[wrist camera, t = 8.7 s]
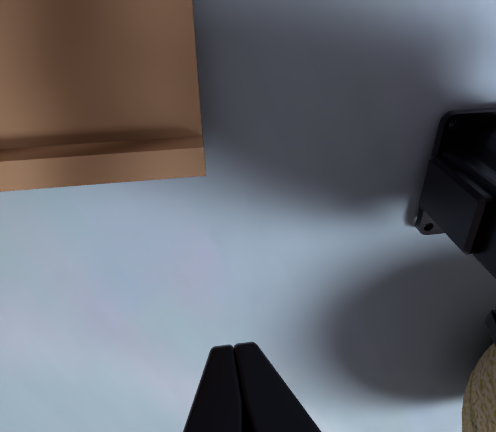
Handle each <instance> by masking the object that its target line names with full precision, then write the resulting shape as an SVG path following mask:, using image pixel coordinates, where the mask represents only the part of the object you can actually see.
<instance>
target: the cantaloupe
mask: <svg viewBox="0 0 496 432" xmlns="http://www.w3.org/2000/svg"><path fill="white" fill-rule="evenodd" d="M462 432H496V347H495V345H494V343H493V344H492V345H491V346H490V347H489V348H488V349H487V350H486V351H485V352H484V354H483V355H482V357H481V358H480V360H479V361H478V362H477V364H476V366H475V368H474V370H473V371H472V372H471V375H470V379H469V381H468V383H467V386H466V388H465V394H464V398H463V407H462Z"/></svg>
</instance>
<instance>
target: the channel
mask: <svg viewBox="0 0 496 432" xmlns="http://www.w3.org/2000/svg"><path fill="white" fill-rule="evenodd" d="M194 176H206V167H205V154H204V144H203V137H202V125H201V112H200V98H199V85H198V72H197V58H196V45H195V31H194V18H193V5H192V0H0V192H2V191H15V190H28V189H40V188H53V187H66V186H79V185H92V184H105V183H117V182H130V181H143V180H156V179H169V178H182V177H194Z"/></svg>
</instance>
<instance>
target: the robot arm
mask: <svg viewBox="0 0 496 432" xmlns="http://www.w3.org/2000/svg"><path fill="white" fill-rule="evenodd" d="M453 120H455V123H454V124H453V125H452V126H451V127H449V125H450V123H451V122H452V121H453ZM419 205H420V208H419V213H418V217H417V221H416V228H417V229H418V231H419V232H420V233H421V234H423V235H431V234H441V233H446V234H447V235H448V237H449V238H450V239H451V240H452V241H453V242H454V243H455V244H456V245H457V246H458V247H459V248H460V249H461V250H462V251H463V252H464V253H465V254H466V255H468V254H472V255H473V256H474V257H475V258H476V259H477V260H478V261H479V262H480V263H481V264H482V265H483V266H484V267H485V268H486V269H487V270H488V271H489V272H490V273H491V274H492V275H493V276H494V277H495V278H496V108H491V109H475V110H460V111H451V112H448V113H446V114H445V115H444V116H443V117H442V118H441V120H440V123H439V127H438V132H437V136H436V140H435V144H434V149H433V153H432V157H431V159H430V160H429V163H428V167H427V171H426V176H425V180H424V184H423V189H422V193H421V197H420V202H419ZM428 223H429V224H428ZM426 224H428V225H427V226H425V225H426ZM424 226H425V227H424ZM485 322H486V325H487V327H488V330H489V332H490V335H491V337H492V340H493V342H494V345H495V347H496V309H495V310H492V311H491V312H490V313H489V315H488V316H487V318H486V320H485ZM183 432H321V431H320V429H319V428H318V427H317V425H316V424H315V422H314V421H313V420H312V418H311V417H310V416H309V414H308V413H307V412H306V410H305V409H304V408H303V406H302V405H301V403H300V402H299V401H298V399H297V398H296V397H295V395H294V394H293V393H292V391H291V390H290V389H289V387H288V386H287V385H286V383H285V382H284V380H283V379H282V378H281V376H280V375H279V374H278V372H277V371H276V370H275V368H274V367H273V366H272V364H271V363H270V361H269V360H268V359H267V357H266V356H265V355H264V353H263V352H262V351H261V349H260V348H259V347H258V345H257V344H256V343H254V342H246V343H238V344H236V345H235V346H234V348H233V346H232V345H222V346H215V347H213V348H212V349H211V350H210V353H209V356H208V359H207V362H206V365H205V368H204V371H203V374H202V377H201V380H200V383H199V386H198V389H197V392H196V395H195V398H194V401H193V404H192V407H191V410H190V413H189V416H188V419H187V422H186V425H185V428H184V430H183Z"/></svg>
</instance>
